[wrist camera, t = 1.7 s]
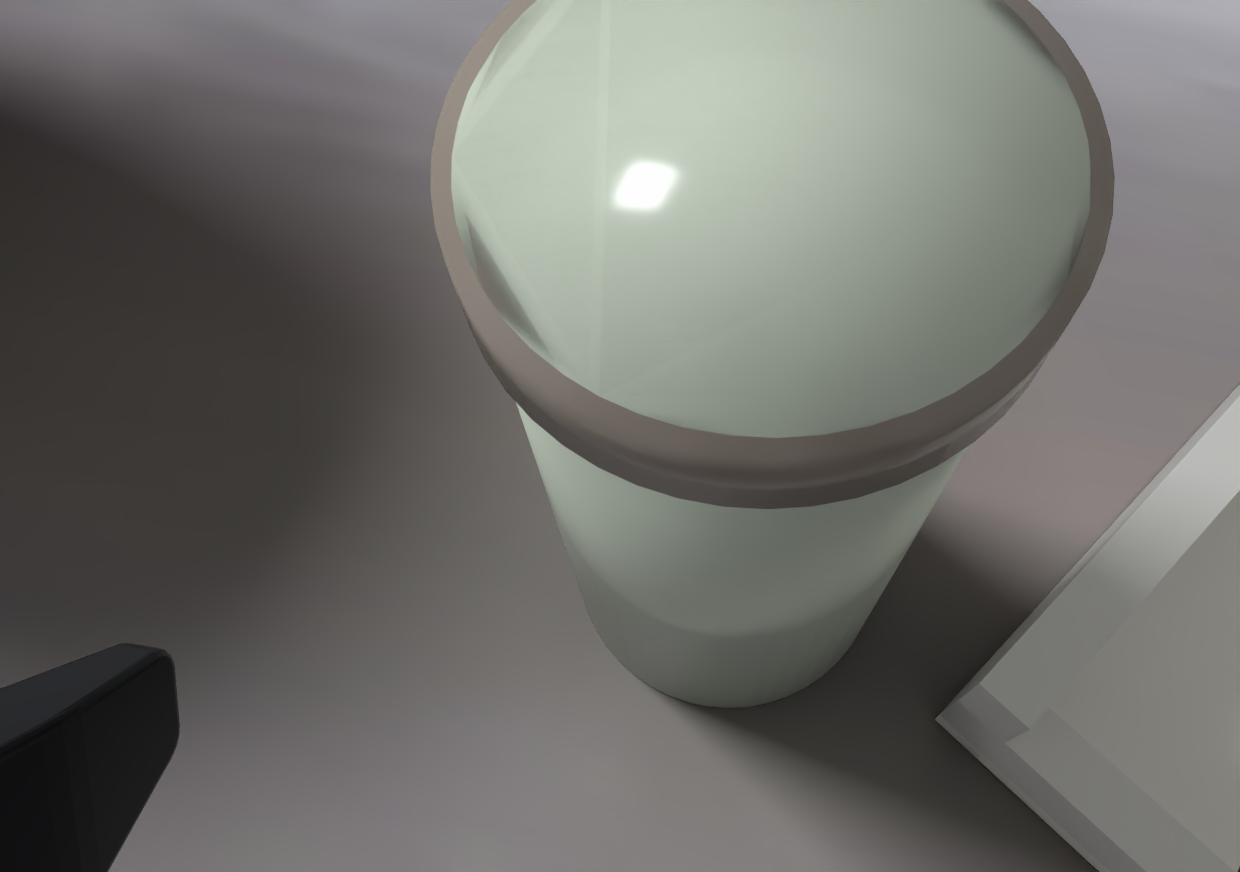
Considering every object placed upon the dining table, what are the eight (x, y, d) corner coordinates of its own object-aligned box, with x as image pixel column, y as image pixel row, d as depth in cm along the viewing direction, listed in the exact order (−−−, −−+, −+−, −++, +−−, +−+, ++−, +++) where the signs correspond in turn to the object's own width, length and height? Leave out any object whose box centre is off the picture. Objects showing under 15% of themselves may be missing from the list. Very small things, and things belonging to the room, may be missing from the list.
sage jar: (730, 790, 20) (783, 617, 9) (505, 558, 23) (296, 159, 11) (951, 558, 22) (1257, 136, 10) (721, 361, 24) (749, -180, 12)
